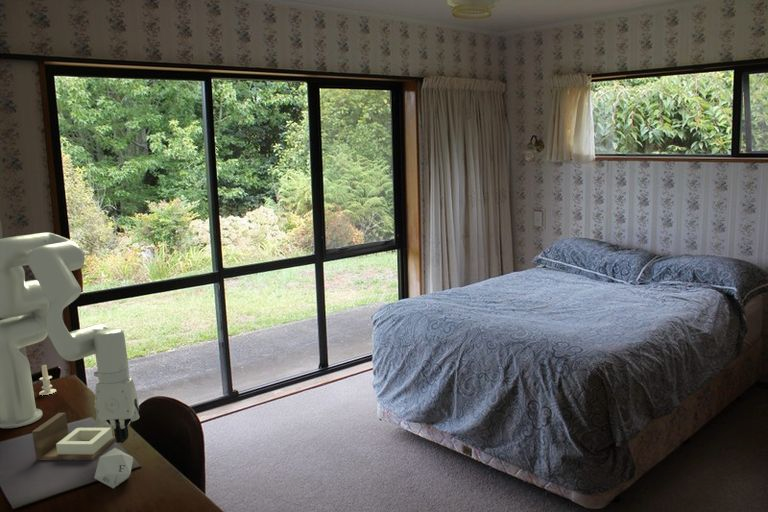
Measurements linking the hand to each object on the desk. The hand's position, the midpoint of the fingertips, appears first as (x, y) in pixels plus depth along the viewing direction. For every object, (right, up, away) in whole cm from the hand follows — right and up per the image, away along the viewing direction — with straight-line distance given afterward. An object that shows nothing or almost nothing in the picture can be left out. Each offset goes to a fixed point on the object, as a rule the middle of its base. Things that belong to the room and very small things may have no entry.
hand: (122, 440), depth 176 cm
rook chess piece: (-12, -1, +15) cm, 19 cm away
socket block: (-11, -2, +2) cm, 11 cm away
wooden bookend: (-13, -3, +2) cm, 13 cm away
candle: (-44, +3, +46) cm, 63 cm away
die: (+5, -6, -17) cm, 18 cm away
